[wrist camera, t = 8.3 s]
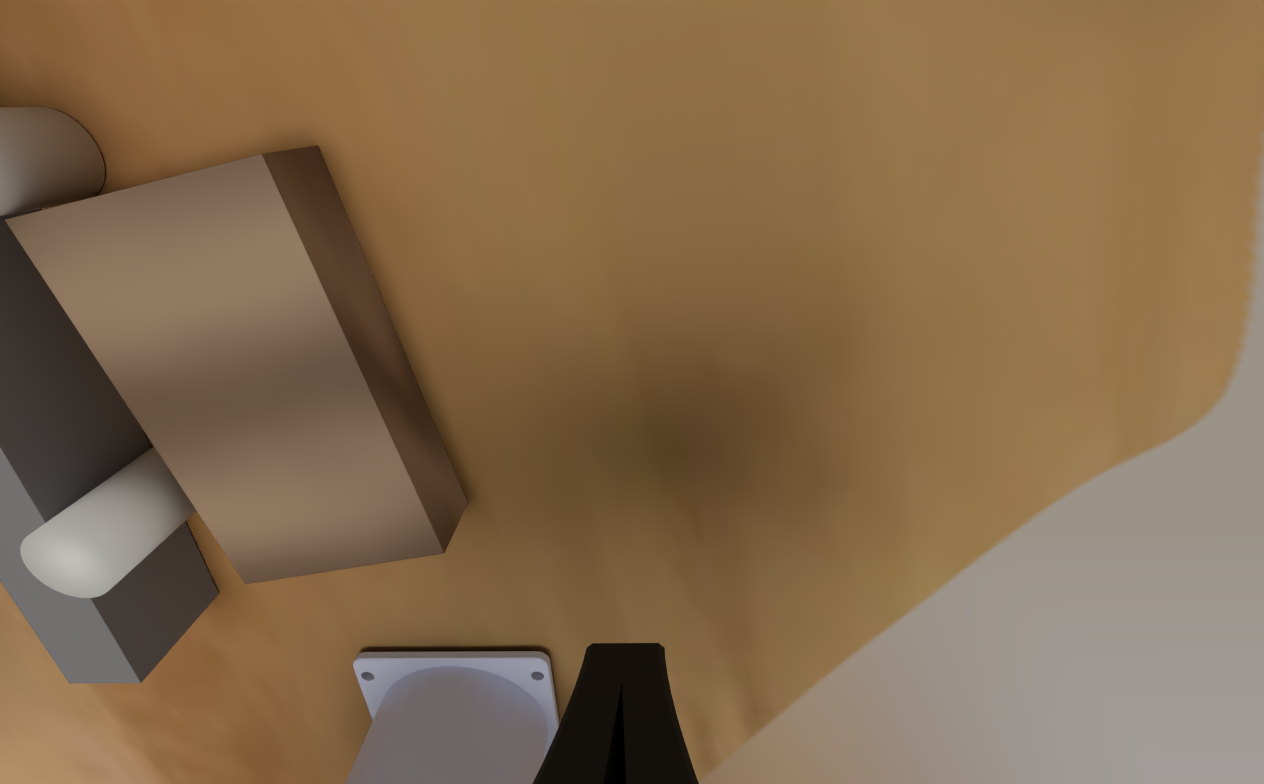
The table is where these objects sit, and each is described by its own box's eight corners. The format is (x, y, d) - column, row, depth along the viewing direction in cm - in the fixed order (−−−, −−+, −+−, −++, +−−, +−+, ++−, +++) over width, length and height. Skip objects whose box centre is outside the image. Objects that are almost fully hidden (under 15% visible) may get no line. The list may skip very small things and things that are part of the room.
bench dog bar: (279, 592, 23) (191, 711, 19) (157, 594, 24) (41, 710, 19) (-14, -129, 14) (-339, -237, 9) (-216, -115, 14) (-629, -214, 9)
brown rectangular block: (470, 496, 22) (444, 553, 19) (294, 525, 22) (245, 584, 20) (325, 144, 16) (261, 154, 14) (105, 200, 17) (4, 219, 15)
